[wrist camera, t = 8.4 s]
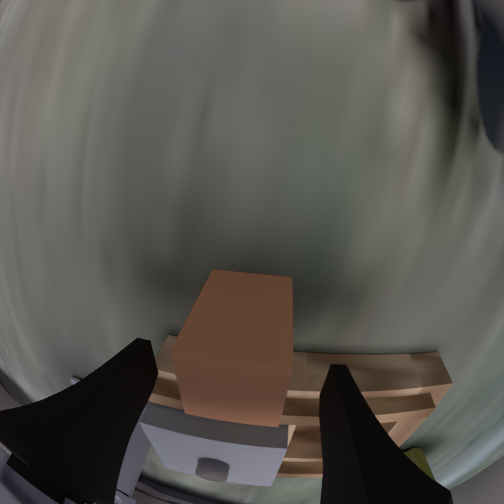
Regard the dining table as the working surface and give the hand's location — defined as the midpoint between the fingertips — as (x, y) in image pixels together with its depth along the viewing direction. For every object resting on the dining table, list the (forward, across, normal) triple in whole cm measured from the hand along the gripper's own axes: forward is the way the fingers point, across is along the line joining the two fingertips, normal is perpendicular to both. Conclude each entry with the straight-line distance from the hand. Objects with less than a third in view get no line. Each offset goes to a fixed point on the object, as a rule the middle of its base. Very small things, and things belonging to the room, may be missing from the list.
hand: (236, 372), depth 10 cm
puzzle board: (+5, -4, +9) cm, 11 cm away
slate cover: (+2, +1, +9) cm, 9 cm away
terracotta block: (+5, 0, 0) cm, 5 cm away
